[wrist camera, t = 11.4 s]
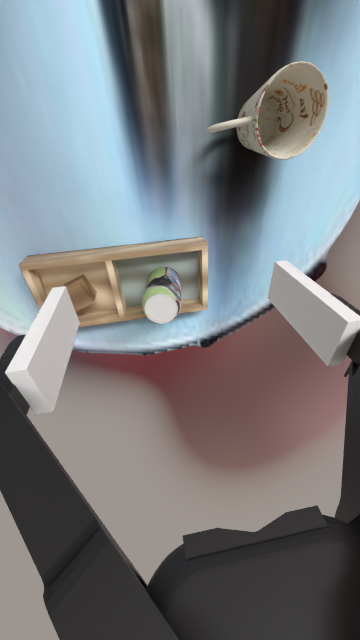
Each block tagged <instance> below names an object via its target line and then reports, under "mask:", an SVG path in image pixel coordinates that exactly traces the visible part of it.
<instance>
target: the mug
mask: <svg viewBox="0 0 360 640" xmlns="http://www.w3.org/2000/svg"><path fill="white" fill-rule="evenodd" d="M328 100H329V96H328V87H327V83H326V80H325V77H324V75H323V74H322V72H321V71H320V70H319V69H318V68H317V67H316V66H315V65H313V64H311V63H309V62H302V61H300V62H294V63H291V64H289V65H286V66H285V67H283V68H282V69H280V70H279V71H278V72H276V73H275V74H274V75H273V76H272V77H271V78H270V79H269V80H268V81H267V82H266V83H265V84H264V85H263V86H262V87H261V88H260V89H259V90H258V91H257V92H256V93H255V94H254V95H253V96H252V97H251V98H250V99H249V100H248V101H247V102H246V103H245V104H244V105H243V107H242V109H241V110H240V113H239V115H238V118H237V119H235V120H231V121H227V122H223V123H219V124H215V125H212V126H210V127H208V129H207V131H208V132H209V133H213V132H217V131H222V130H225V129H229V128H234V127H236V129H237V135H238V138H239V140H240V142H241V144H242V145H243V146H245V147H246V148H248V149H250V150H253V151H256V152H258V153H261V154H263V155H266V156H268V157H271V158H274V159H280V160H284V159H290V158H293V157H295V156H297V155H299V154H301V153H302V152H303V151H305V150H306V149H307V148H308V147H309V146H310V145H311V144H312V143H313V141H314V140H315V139H316V137H317V136H318V134H319V132H320V130H321V128H322V126H323V124H324V121H325V118H326V114H327V109H328Z"/></svg>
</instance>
